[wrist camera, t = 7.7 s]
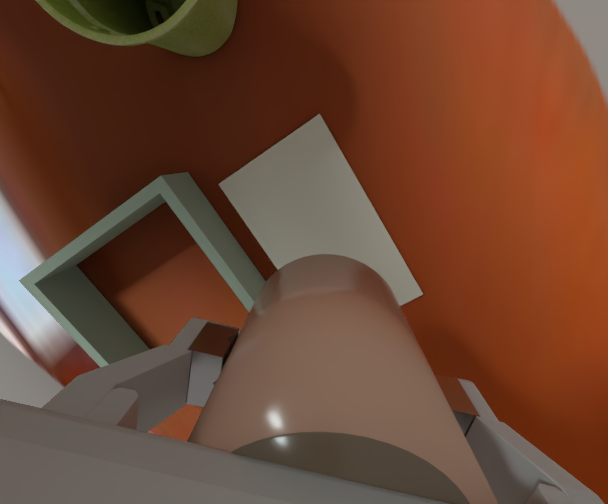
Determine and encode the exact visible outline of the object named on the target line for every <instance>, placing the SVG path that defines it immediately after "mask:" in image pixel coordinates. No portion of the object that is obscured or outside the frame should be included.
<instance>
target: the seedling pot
mask: <svg viewBox="0 0 608 504" xmlns="http://www.w3.org/2000/svg"><path fill="white" fill-rule="evenodd" d="M187 442H191V443H195V444H199V445H202V446H207V447H211V448H216V449H220V450H224V451H229V452H232V453H233V454H237V455H241V456H246V457H250V458H254V459H259V460H263V461H267V462H272V463H276V464H281V465H285V466H289V467H294V468H298V469H303V470H307V471H311V472H316V473H320V474H324V475H329V476H333V477H337V478H342V479H346V480H351V481H355V482H359V483H364V484H368V485H372V486H377V487H381V488H385V489H390V490H394V491H399V492H403V493H407V494H412V495H416V496H420V497H425V498H429V499H433V500H438V501H442V502H447V503H451V504H498V502H497V500H496V498H495V496H494V494H493V492H492V490H491V488H490V486H489V484H488V482H487V480H486V478H485V476H484V474H483V472H482V470H481V468H480V466H479V464H478V462H477V460H476V458H475V456H474V454H473V452H472V450H471V448H470V446H469V444H468V442H467V440H466V438H465V436H464V434H463V432H462V430H461V428H460V426H459V424H458V422H457V420H456V418H455V416H454V414H453V412H452V410H451V408H450V406H449V404H448V402H447V400H446V398H445V396H444V394H443V392H442V390H441V388H440V386H439V384H438V382H437V380H436V378H435V376H434V373H433V371H432V369H431V367H430V365H429V363H428V361H427V359H426V357H425V355H424V353H423V351H422V349H421V347H420V345H419V343H418V341H417V339H416V337H415V335H414V333H413V331H412V329H411V327H410V325H409V323H408V321H407V319H406V317H405V315H404V313H403V311H402V309H401V307H400V305H399V303H398V301H397V299H396V297H395V295H394V293H393V291H392V289H391V288H390V286H389V285H388V284H387V282H386V281H385V280H384V279H383V278H382V277H381V276H380V275H379V274H378V273H377V272H376V271H374V270H373V269H372V268H370V267H369V266H367V265H365V264H364V263H362V262H359V261H357V260H355V259H352V258H349V257H345V256H340V255H334V254H318V255H310V256H306V257H302V258H299V259H296V260H294V261H292V262H290V263H288V264H286V265H284V266H283V267H281V268H280V269H278V270H277V271H276V272H275V273H273V274H272V275H271V276H270V277H269V279H268V280H267V281H266V282H265V283H264V285H263V287H262V288H261V290H260V291H259V294H258V296H257V298H256V300H255V302H254V304H253V306H252V308H251V310H250V312H249V314H248V316H247V319H246V321H245V323H244V325H243V327H242V329H241V331H240V333H239V335H238V337H237V339H236V341H235V343H234V346H233V348H232V350H231V352H230V354H229V356H228V358H227V360H226V362H225V364H224V366H223V368H222V370H221V373H220V375H219V377H218V379H217V381H216V383H215V385H214V387H213V389H212V391H211V393H210V395H209V398H208V400H207V402H206V404H205V406H204V408H203V410H202V412H201V414H200V416H199V418H198V420H197V422H196V425H195V427H194V429H193V431H192V433H191V435H190V437H189V439H188V441H187Z"/></svg>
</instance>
